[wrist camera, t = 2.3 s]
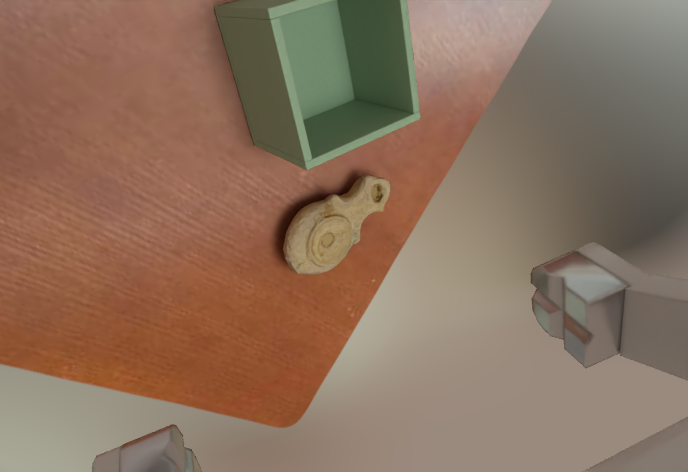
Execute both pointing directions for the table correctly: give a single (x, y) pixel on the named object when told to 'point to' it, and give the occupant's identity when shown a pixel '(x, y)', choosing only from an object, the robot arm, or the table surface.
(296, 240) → the oil lamp
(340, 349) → the table surface
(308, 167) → the trash bin
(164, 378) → the table surface
